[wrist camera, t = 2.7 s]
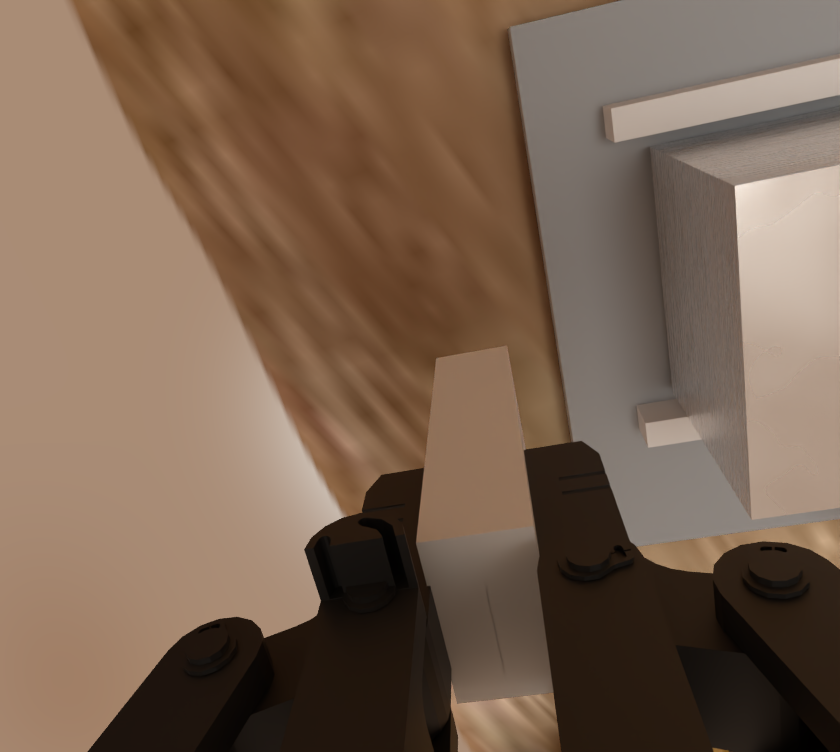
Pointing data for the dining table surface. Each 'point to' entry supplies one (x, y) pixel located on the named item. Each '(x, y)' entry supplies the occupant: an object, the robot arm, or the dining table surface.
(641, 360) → the grey slider board
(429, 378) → the dining table surface
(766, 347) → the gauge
